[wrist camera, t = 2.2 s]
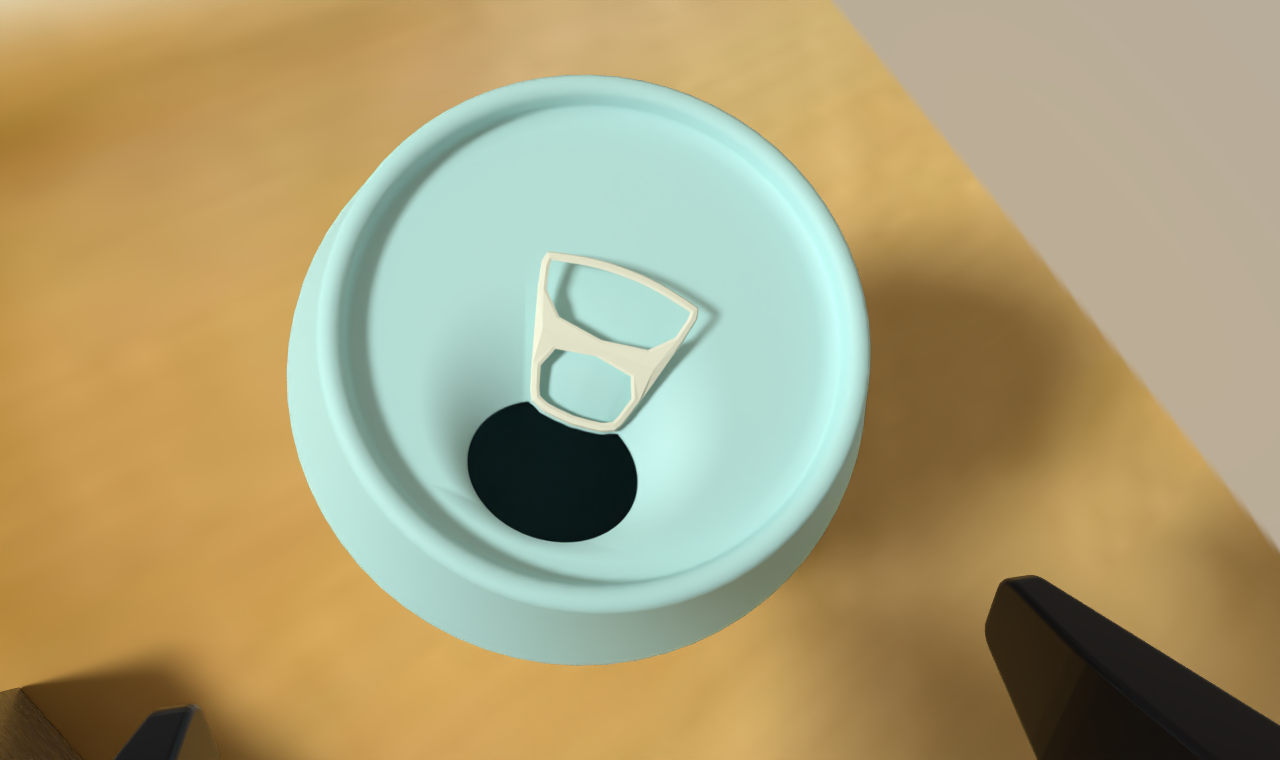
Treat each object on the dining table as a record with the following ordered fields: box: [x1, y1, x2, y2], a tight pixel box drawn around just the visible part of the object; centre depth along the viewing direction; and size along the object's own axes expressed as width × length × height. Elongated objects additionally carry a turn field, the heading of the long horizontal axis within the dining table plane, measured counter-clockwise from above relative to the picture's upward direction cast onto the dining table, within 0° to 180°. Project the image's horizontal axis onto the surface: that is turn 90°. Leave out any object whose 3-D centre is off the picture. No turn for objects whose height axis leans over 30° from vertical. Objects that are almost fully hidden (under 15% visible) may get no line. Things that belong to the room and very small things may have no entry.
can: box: [287, 75, 871, 665], centre depth 15 cm, size 7×7×12 cm
